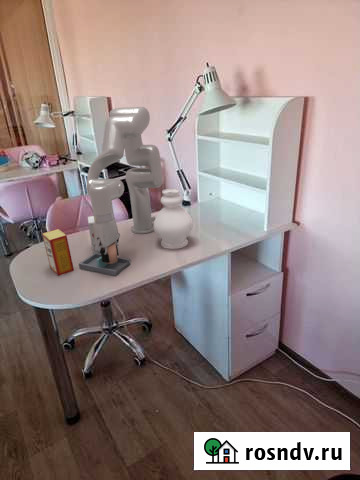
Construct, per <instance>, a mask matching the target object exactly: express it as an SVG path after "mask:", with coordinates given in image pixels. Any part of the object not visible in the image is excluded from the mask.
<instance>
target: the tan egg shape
mask: <svg viewBox="0 0 360 480" xmlns="http://www.w3.org/2000/svg"><path fill="white" fill-rule="evenodd" d="M103 250H104V248H103ZM107 253H108V255H109V261H110V262H109V263H106V264H112V263H115V262H117V261H118V257H119V256H117V250H116V244H115V243H114V242H113V243H112V244H110V245H109V246H107Z"/></svg>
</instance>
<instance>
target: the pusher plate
mask: <svg viewBox="0 0 360 480" xmlns="http://www.w3.org/2000/svg"><path fill="white" fill-rule="evenodd" d="M96 261H97V266H98V267H102V268H103V267H105V266H106V265H107V264H106V263H105V262H102V257H100V258H98V259H97V260H96Z"/></svg>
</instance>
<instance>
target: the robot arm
mask: <svg viewBox="0 0 360 480" xmlns="http://www.w3.org/2000/svg"><path fill="white" fill-rule="evenodd" d="M150 117H151V116H150V112H149V110H148V109H147V108H146V107H145V106H136V107H135V106H132V107H131V106H129V107H128V106H127V107H125V106H124V107H116V108H112V109H111V110H110V111H109V117H107V119H106V120H105V124H104V131H103V140H102V141H103V142H102V147H101V148H102V149H101V152H100V154H99V155H98V156H97V157H96V158H95V159H94V161H92V162H91V165H90V166H89V168H88V171H87V178H86V192H87V194H88V196H89V198H90V203H91V208H92V213H93V214H92V216H94V221H95V222H94V224H93V233H94V242H95V251H98V252H99V254H101V257H102V262H105V263H109V262H110V261H109V255H108V253H107V246H109V245H110V244H112V243H113V242H114V243H115V244H116V250H117V256H118V257H120V256H119V248H118V247H119V241H120V238H121V233H119V229H118V224H117V221H116V219H115V213H114V208H113V207H114V206H113V200H117V199H118V198H121V196H123V194H124V191H125V185H124V182H123V181H122V180H120V179H118V178H99V177H100V174H101V172H102V171H104V170H105V168H107V167H109V166H110V165H112V164H115V163H116V162H118V161H120V160H122V158H123V157H124V156H125V160H126V162H127V164H128V165H129V166H133V168H132V167H131V168H130V169H127V171H126V173H125V181H126V184H127V188H128V192H129V198H130V205H131V214H132V222H133V223H132V224H133V225H132V226H131V227H130V231H131V232H132V233H134V234H139V235H140V234H141V235H142V234H149V233H152V232H155V231H154V220H155V218H156V216H152V209H151V199H150V198H151V196H150V194H149V192H148V190H147V189H156V188H157V189H158V188H160V187H161V186H162V185H163V173H162V162H161V153H160V150H159V148H158V146H156V145H154V144H144V143H143V138H142V134H143V133H144V131H145V130H147V128H148V127H149V125H150V120H151V118H150ZM103 248H104V250H103Z"/></svg>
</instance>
